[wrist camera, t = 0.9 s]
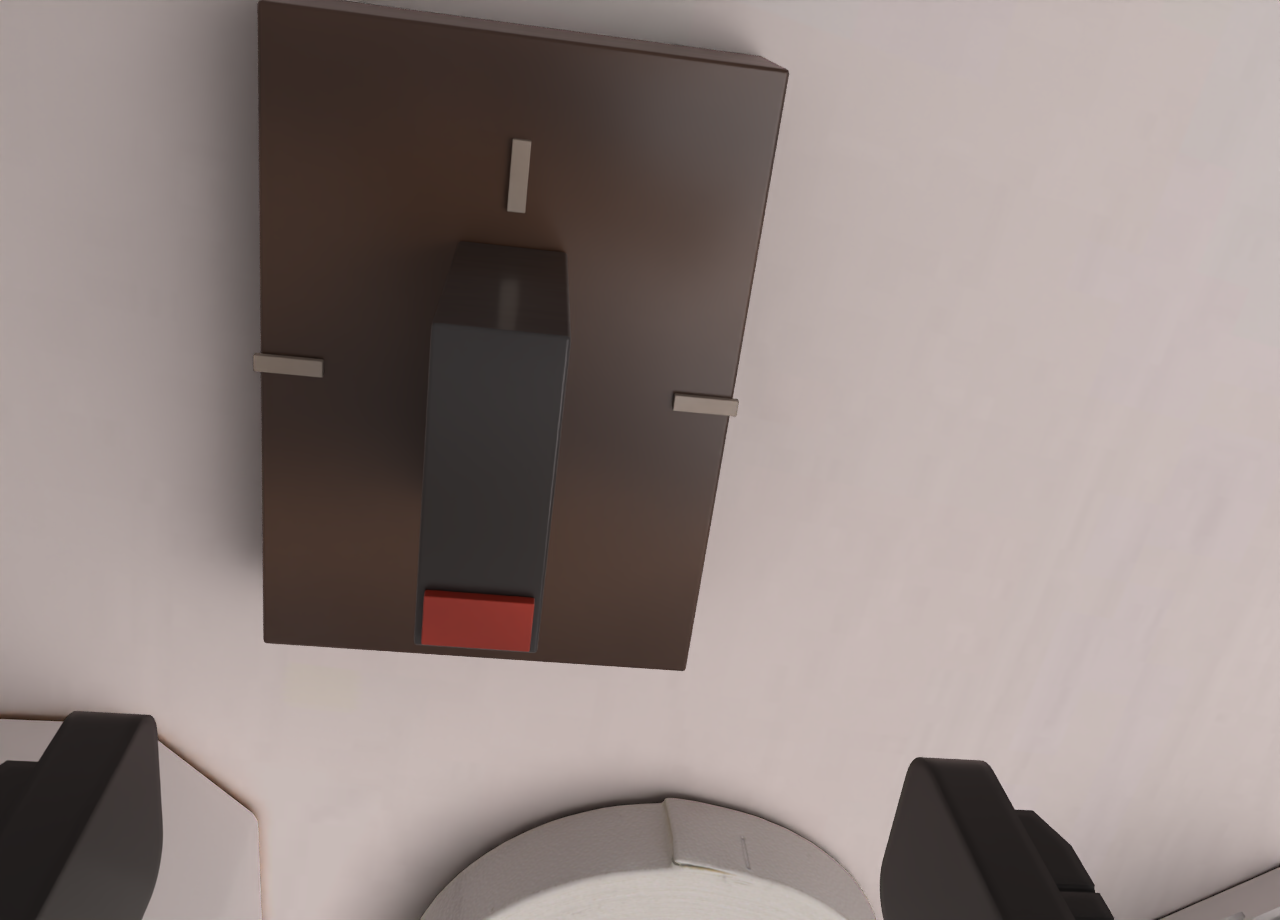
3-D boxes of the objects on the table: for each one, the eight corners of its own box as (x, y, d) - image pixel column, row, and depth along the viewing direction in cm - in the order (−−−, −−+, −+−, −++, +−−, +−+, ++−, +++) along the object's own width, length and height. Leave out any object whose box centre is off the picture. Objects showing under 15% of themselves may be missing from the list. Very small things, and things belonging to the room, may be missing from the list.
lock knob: (458, 239, 22) (429, 327, 17) (567, 252, 23) (572, 342, 17) (441, 506, 25) (411, 653, 20) (540, 514, 25) (537, 662, 20)
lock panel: (286, -8, 23) (248, -2, 20) (768, 56, 24) (797, 71, 21) (286, 578, 29) (256, 648, 26) (677, 607, 30) (690, 676, 27)
